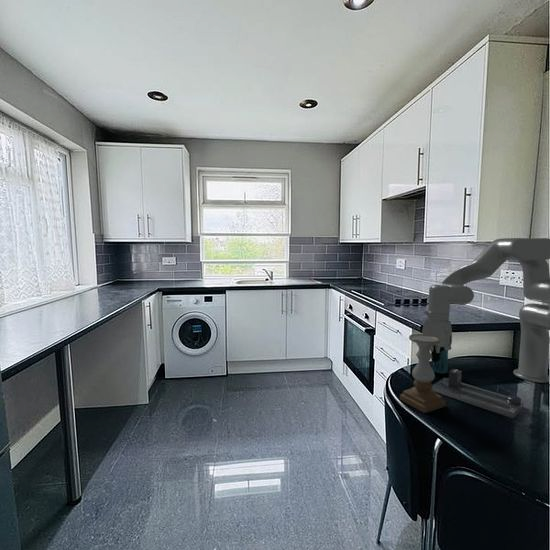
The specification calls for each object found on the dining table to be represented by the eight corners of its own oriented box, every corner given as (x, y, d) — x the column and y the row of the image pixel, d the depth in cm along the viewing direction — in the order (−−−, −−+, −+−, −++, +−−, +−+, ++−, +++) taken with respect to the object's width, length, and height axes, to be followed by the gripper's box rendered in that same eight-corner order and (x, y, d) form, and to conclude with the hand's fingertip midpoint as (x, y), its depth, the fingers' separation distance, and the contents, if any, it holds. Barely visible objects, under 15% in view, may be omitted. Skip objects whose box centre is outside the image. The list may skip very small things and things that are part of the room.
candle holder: (424, 413, 104) (427, 344, 102) (399, 399, 114) (401, 335, 112) (446, 406, 109) (449, 339, 107) (420, 393, 119) (422, 332, 117)
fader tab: (452, 383, 122) (453, 368, 122) (460, 386, 120) (461, 370, 119) (448, 386, 120) (449, 370, 119) (456, 389, 117) (457, 373, 117)
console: (444, 382, 129) (444, 373, 128) (523, 406, 109) (523, 397, 108) (431, 390, 121) (431, 382, 121) (513, 418, 101) (514, 408, 101)
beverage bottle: (443, 371, 140) (445, 327, 138) (450, 377, 133) (452, 331, 131) (428, 370, 140) (430, 327, 139) (434, 376, 134) (436, 331, 132)
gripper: (415, 314, 126) (412, 358, 128) (454, 321, 115) (451, 369, 116) (423, 312, 131) (421, 354, 133) (462, 318, 120) (459, 364, 121)
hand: (435, 361), depth 124 cm, fingers closed
